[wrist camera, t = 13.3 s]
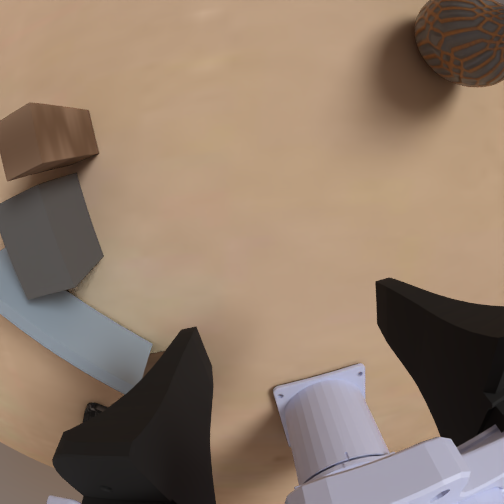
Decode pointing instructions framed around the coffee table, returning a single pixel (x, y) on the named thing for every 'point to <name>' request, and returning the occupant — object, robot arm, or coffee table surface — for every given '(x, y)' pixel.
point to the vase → (463, 40)
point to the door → (75, 332)
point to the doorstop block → (49, 236)
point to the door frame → (48, 146)
